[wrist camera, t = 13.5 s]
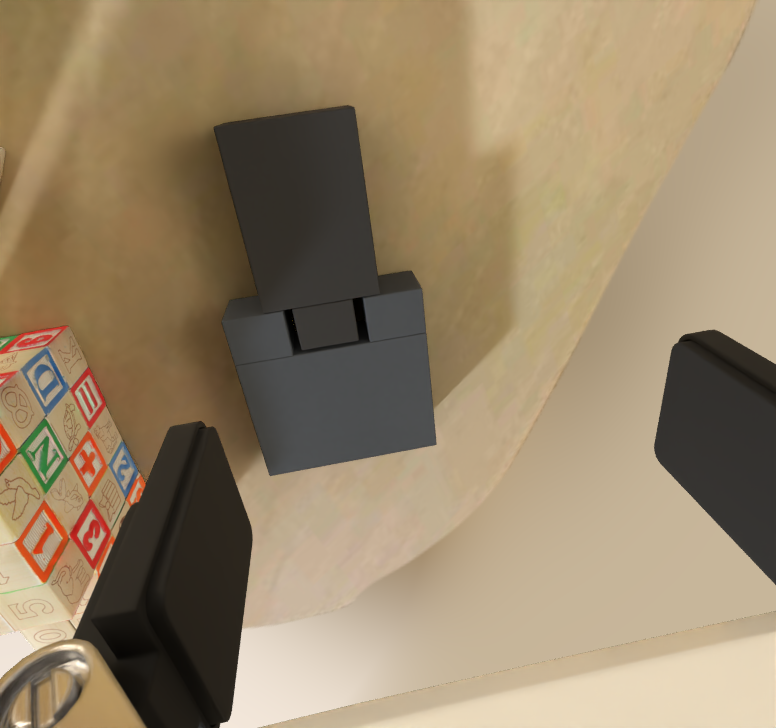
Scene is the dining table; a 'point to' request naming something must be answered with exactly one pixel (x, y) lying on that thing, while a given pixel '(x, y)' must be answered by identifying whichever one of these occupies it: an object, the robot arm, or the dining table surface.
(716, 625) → the robot arm
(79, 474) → the stack of blocks
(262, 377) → the grey block
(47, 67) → the dining table surface
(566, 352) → the dining table surface
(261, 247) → the black tabbed block
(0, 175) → the box
